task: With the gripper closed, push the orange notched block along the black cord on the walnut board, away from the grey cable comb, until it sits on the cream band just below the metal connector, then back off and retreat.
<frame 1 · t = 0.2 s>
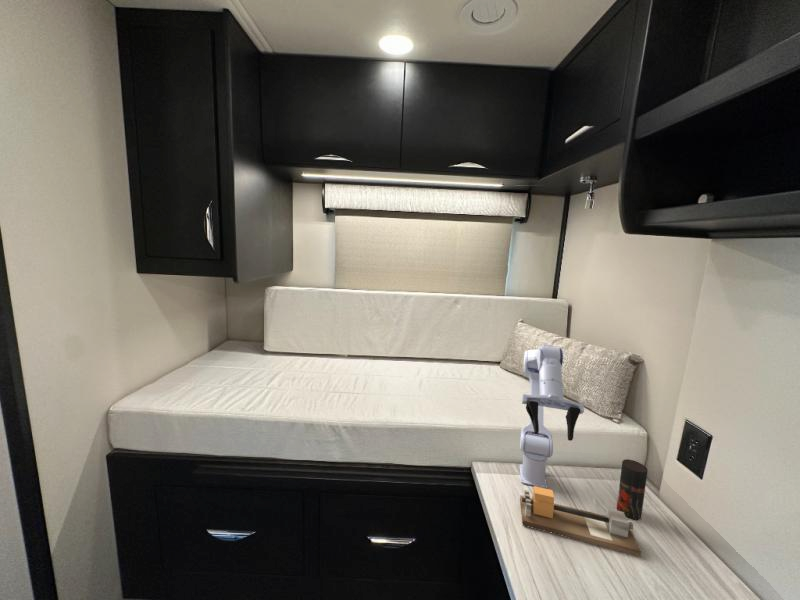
hand: (553, 435, 76), 31 cm above the table, tool tilted 45°, fingers open, 7 cm apart
orange notched block: (542, 501, 88), point 5 cm above the table, slide at 0.0 cm
deodorant: (628, 512, 92), on the table
cord board: (574, 525, 86), on the table
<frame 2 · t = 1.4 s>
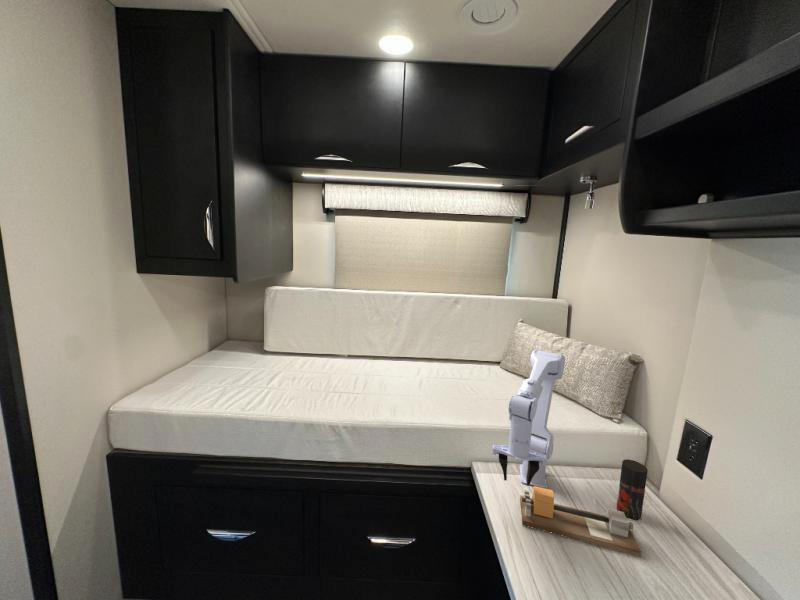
hand: (516, 480, 90), 9 cm above the table, tool pointing down, fingers open, 6 cm apart
nothing on the table moved.
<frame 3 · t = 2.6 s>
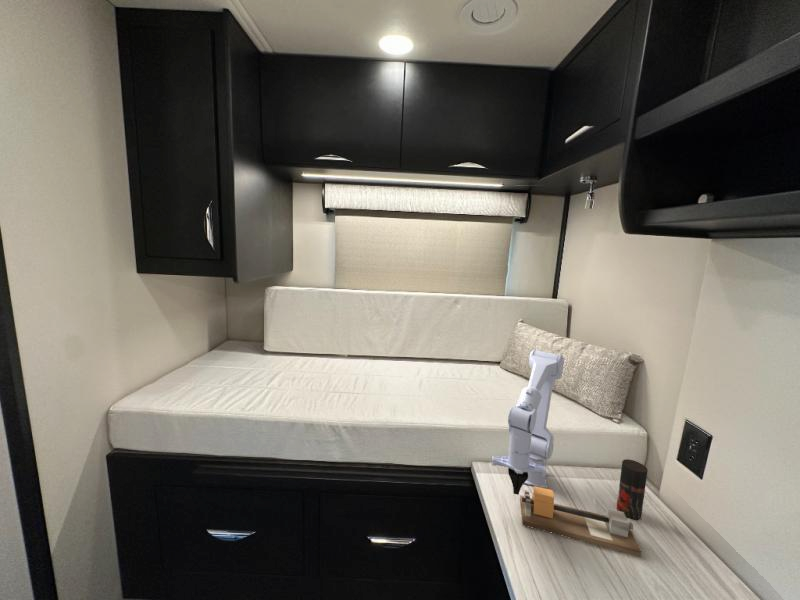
hand: (515, 491, 90), 6 cm above the table, tool pointing down, fingers closed
nothing on the table moved.
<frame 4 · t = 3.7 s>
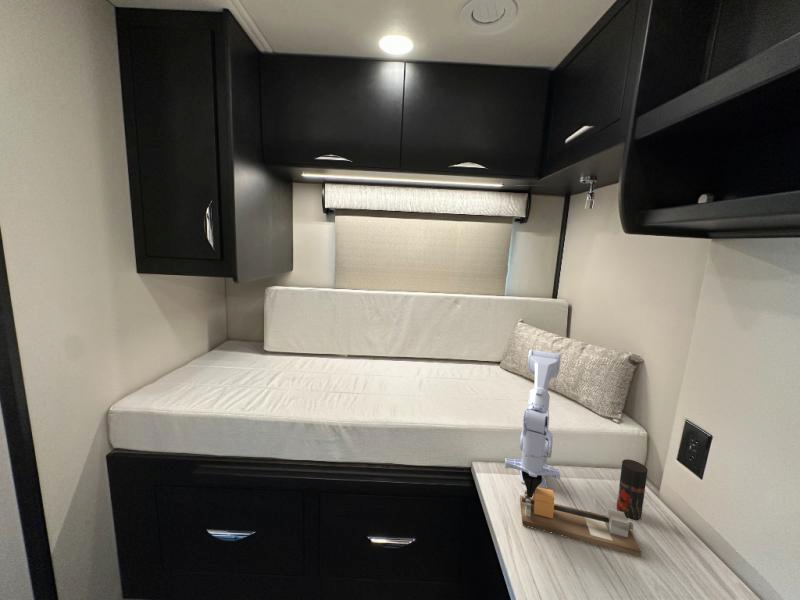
hand: (529, 495, 89), 6 cm above the table, tool pointing down, fingers closed
orange notched block: (543, 501, 88), point 5 cm above the table, slide at 0.1 cm, touching gripper
everything else where it was.
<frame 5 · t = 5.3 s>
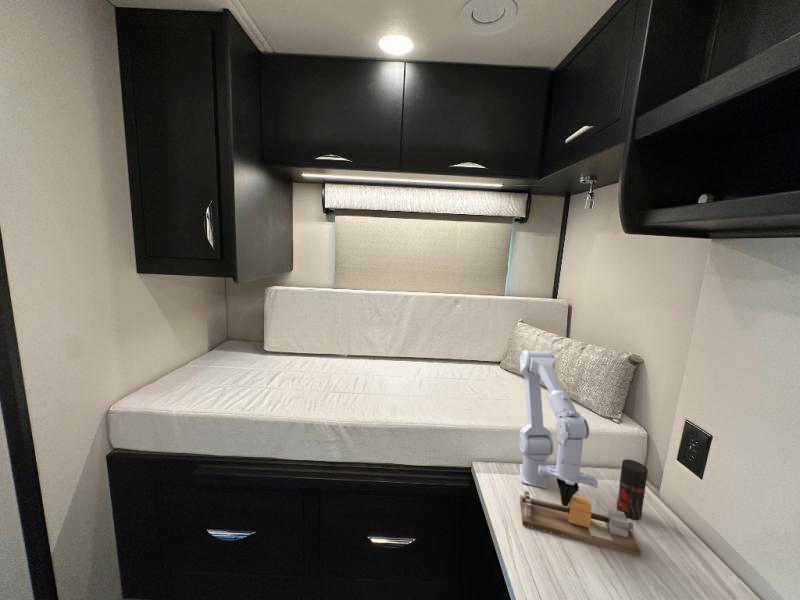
hand: (564, 503, 87), 6 cm above the table, tool pointing down, fingers closed
orange notched block: (578, 509, 86), point 5 cm above the table, slide at 9.2 cm, touching gripper
everything else where it was.
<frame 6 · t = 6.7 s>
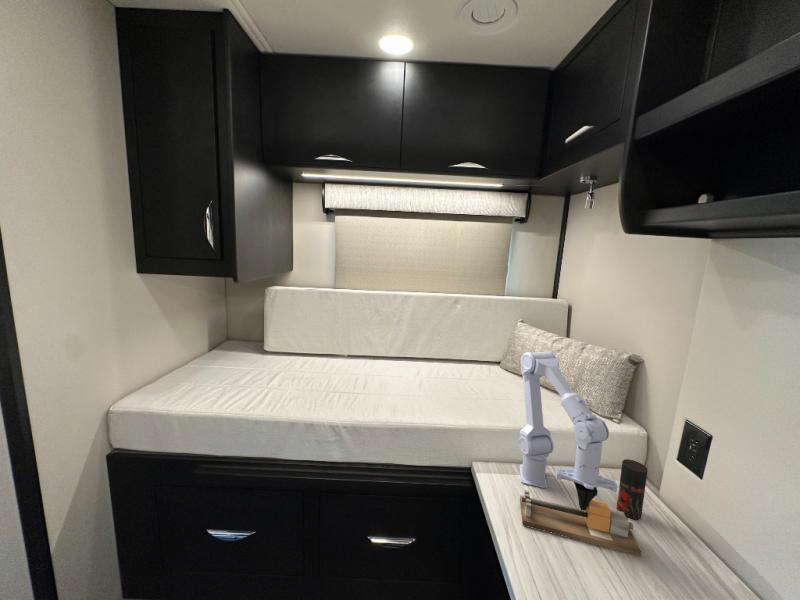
hand: (582, 507, 85), 6 cm above the table, tool pointing down, fingers closed
orange notched block: (597, 514, 84), point 5 cm above the table, slide at 13.7 cm, touching gripper
everything else where it was.
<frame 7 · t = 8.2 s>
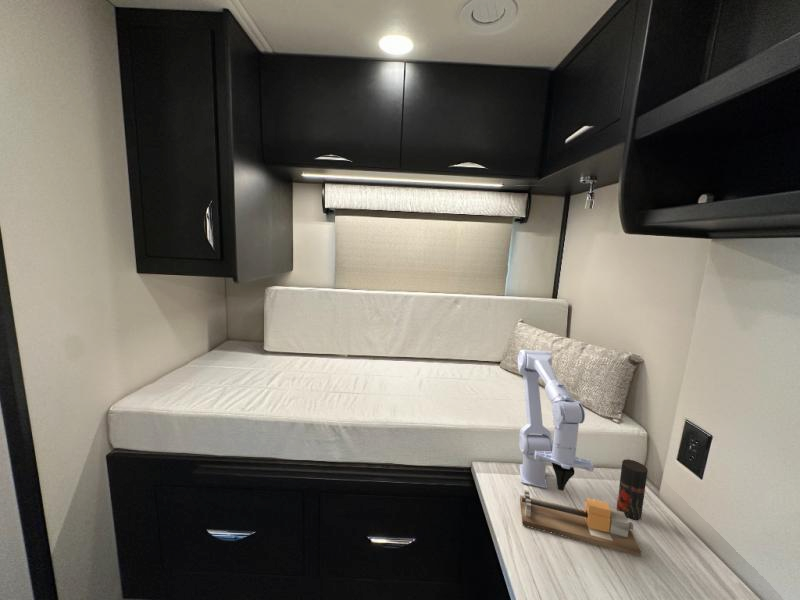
hand: (560, 487, 87), 10 cm above the table, tool pointing down, fingers closed
orange notched block: (597, 514, 84), point 5 cm above the table, slide at 13.7 cm
everything else where it was.
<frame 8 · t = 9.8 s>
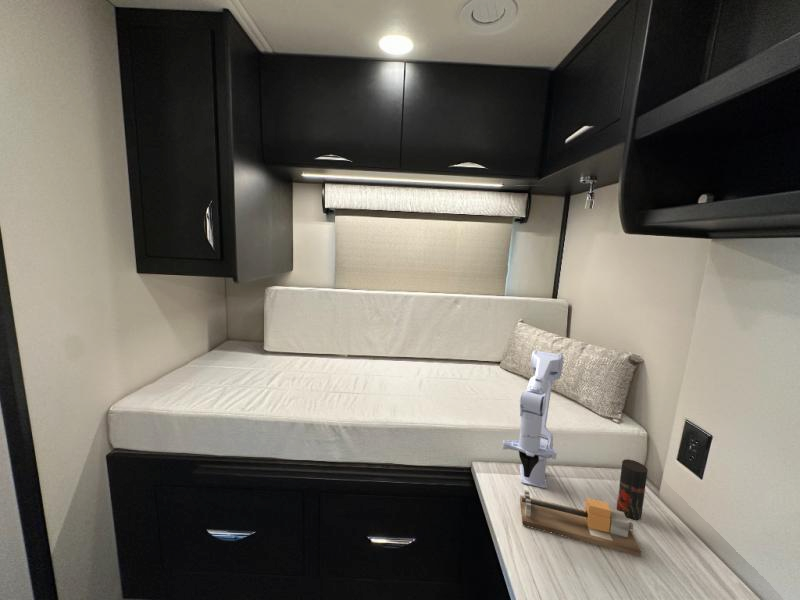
hand: (526, 475, 92), 10 cm above the table, tool pointing down, fingers closed
nothing on the table moved.
at the end: orange notched block slide at 13.7 cm; deodorant moved 0.2 cm from its start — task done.
